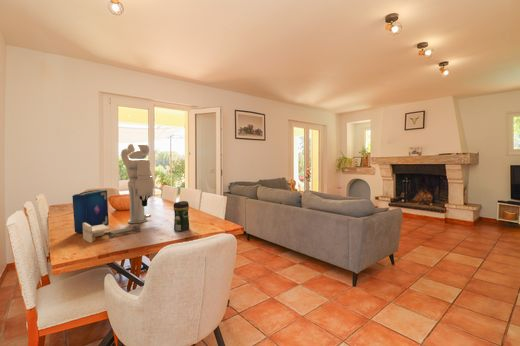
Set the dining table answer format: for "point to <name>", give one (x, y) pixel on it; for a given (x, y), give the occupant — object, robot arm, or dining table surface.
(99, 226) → the shelf
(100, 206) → the book
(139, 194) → the robot arm
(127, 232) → the guide rails
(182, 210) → the coffee jar
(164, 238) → the dining table surface
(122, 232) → the slate gray sliding drawer
